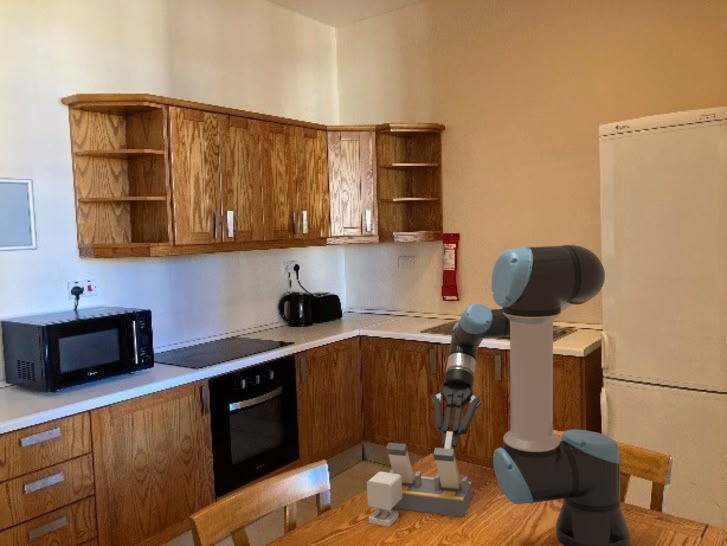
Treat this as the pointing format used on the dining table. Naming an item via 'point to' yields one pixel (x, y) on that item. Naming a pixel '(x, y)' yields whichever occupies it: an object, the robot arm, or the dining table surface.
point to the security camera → (384, 497)
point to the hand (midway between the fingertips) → (447, 458)
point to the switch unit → (435, 496)
